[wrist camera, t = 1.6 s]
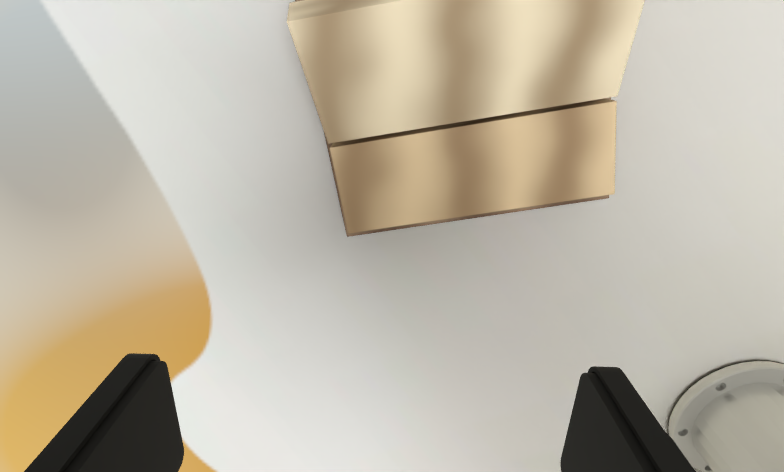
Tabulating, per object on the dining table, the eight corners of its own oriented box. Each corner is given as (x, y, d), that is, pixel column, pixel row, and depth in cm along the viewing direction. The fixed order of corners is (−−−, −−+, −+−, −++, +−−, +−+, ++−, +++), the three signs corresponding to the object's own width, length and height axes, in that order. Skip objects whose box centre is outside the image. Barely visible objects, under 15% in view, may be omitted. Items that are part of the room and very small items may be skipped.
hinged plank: (641, -65, 22) (658, -48, 21) (605, 77, 29) (617, 96, 28) (289, 2, 24) (286, 21, 23) (328, 123, 30) (328, 143, 29)
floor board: (603, -160, 26) (633, -191, 22) (600, 191, 34) (621, 207, 30) (279, -93, 27) (263, -112, 24) (349, 229, 35) (344, 247, 32)
